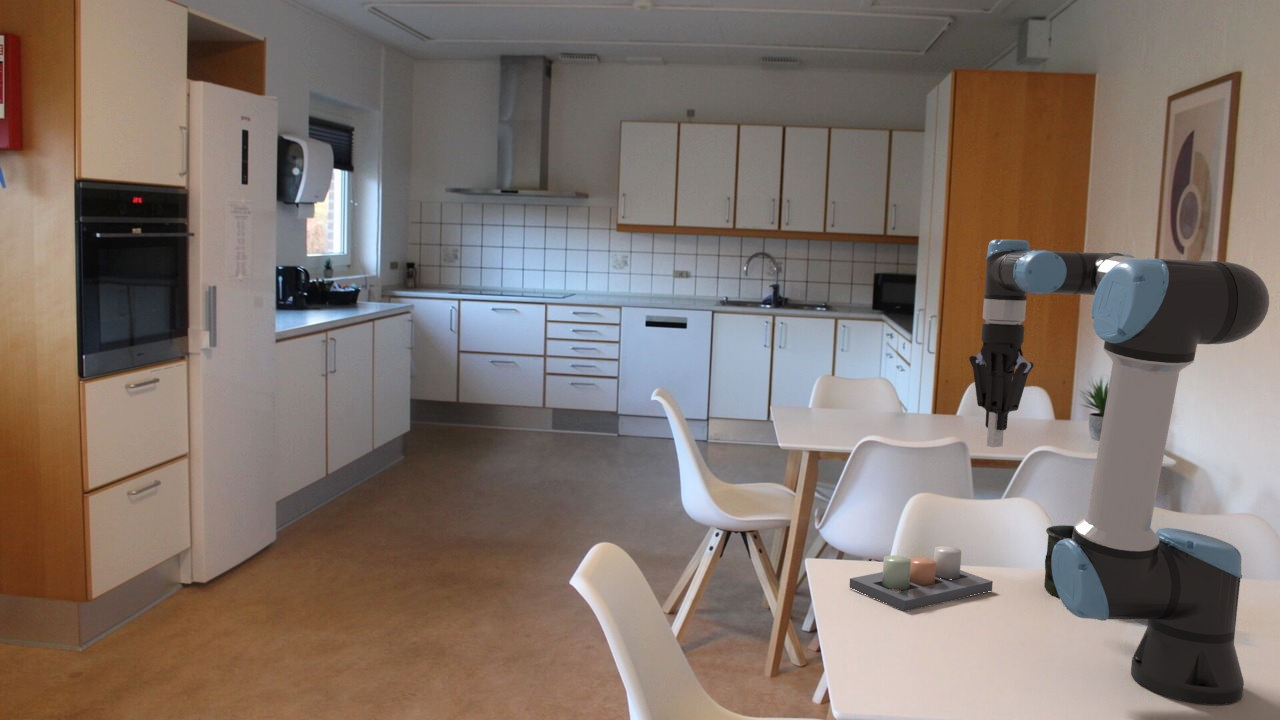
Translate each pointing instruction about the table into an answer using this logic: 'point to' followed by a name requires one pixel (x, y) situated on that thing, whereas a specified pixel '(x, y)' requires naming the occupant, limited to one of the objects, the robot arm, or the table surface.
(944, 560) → the grey button
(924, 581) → the terracotta button
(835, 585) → the table surface
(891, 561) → the sage button
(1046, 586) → the mug
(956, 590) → the button board
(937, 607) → the table surface
